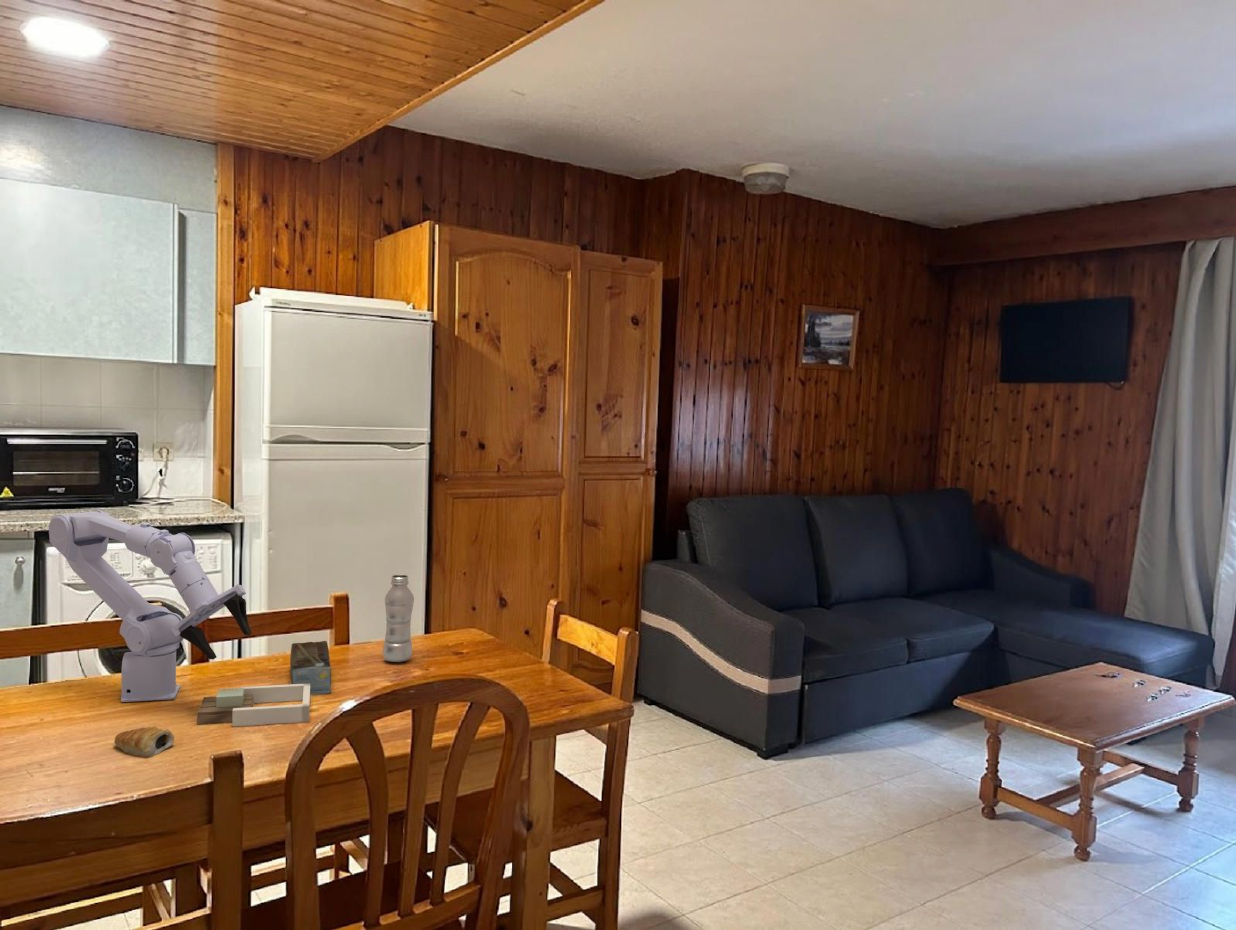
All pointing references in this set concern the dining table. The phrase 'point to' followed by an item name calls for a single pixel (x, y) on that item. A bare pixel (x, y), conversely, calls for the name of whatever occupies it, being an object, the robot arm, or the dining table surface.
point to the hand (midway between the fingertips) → (230, 646)
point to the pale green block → (230, 697)
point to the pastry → (144, 741)
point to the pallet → (219, 711)
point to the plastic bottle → (398, 620)
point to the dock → (274, 712)
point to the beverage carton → (311, 666)
